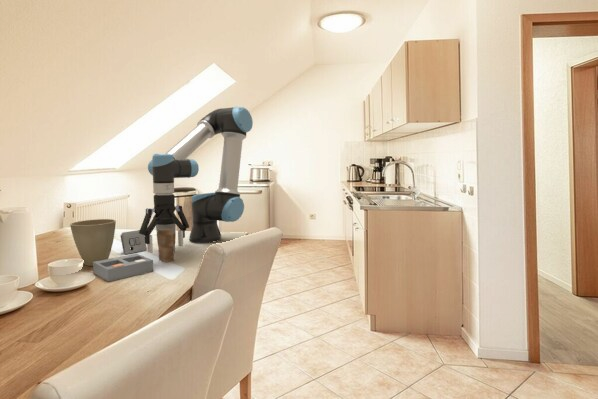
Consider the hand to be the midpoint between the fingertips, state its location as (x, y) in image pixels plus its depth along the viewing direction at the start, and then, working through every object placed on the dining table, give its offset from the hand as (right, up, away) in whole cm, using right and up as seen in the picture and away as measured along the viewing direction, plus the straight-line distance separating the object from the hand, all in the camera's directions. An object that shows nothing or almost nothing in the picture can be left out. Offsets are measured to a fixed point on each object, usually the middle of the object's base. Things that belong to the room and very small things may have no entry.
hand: (166, 249), depth 139 cm
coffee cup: (-4, -3, +12) cm, 13 cm away
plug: (0, -4, +1) cm, 4 cm away
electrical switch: (-19, -3, +14) cm, 24 cm away
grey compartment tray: (-9, -6, -14) cm, 18 cm away
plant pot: (-25, -5, -4) cm, 26 cm away
